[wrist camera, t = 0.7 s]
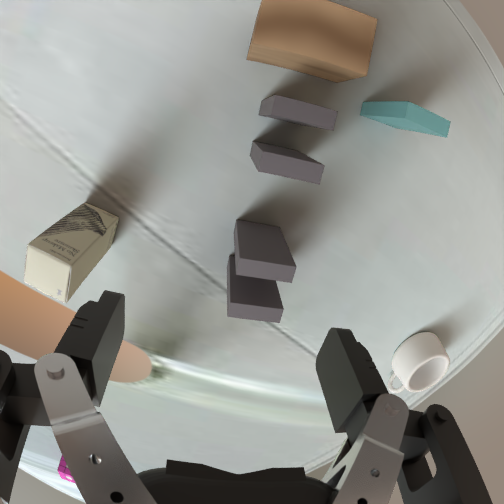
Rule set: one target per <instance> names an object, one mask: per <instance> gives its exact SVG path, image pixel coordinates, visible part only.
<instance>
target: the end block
mask: <svg viewBox="0 0 504 504" xmlns="http://www.w3.org/2000/svg"><path fill="white" fill-rule="evenodd" d="M376 25H377V19H375V18H373V17H371V16H368V15H366V14H363V13H361V12H358V11H355V10H353V9H350V8H347V7H345V6H342V5H339V4H336V3H333V2H330V1H327V0H262V2H261V5H260V8H259V11H258V15H257V19H256V23H255V27H254V31H253V35H252V39H251V43H250V47H249V51H248V56H247V60H251V61H256V62H261V63H265V64H270V65H274V66H278V67H283V68H287V69H291V70H295V71H298V72H302V73H306V74H309V75H313V76H316V77H320V78H323V79H326V80H330V81H333V82H336V83H338V82H342V81H346V80H351V79H355V78H359V77H364V76H367V71H368V67H369V62H370V57H371V52H372V46H373V41H374V36H375V30H376Z"/></svg>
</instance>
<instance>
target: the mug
mask: <svg viewBox="0 0 504 504" xmlns="http://www.w3.org/2000/svg"><path fill="white" fill-rule="evenodd" d="M391 365H392V369H393V371H394V373H393V374H392V375H391V377H390V378H389V381H388V388H389V390H390V391H391V392H392V393H399V392H401V391H403V390H404V389H405V388H406V389H407V390H408V391H410V392H420V391H423V390H426V389H428V388H430V387H432V386H433V385H434V384H436V383H437V382H438V381H439V380H440V379H441V378H442V377H443V376H444V375H445V373H446V372H447V370H448V368H449V365H450V359H449V356H448V354H447V353H446V351H445V349H444V347H443V345H442V344H441V342H440V340H439V338H438V337H437V336H436V335H435V334H434V333H430V332H421V333H418V334H415V335H413V336H411V337H409V338H408V339H407V340H405V341H404V342H403V343H402V344H401V345H400V346H399V347H398V348H397V350H396V351H395V353H394V355H393V358H392V363H391ZM396 376H397V377H398V378H399V379H400V380H401V382H402V386H401V387H400V388H398V389H395V388H393V386H392V382H393V380H394V378H395V377H396Z"/></svg>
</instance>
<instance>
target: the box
mask: <svg viewBox="0 0 504 504" xmlns="http://www.w3.org/2000/svg"><path fill="white" fill-rule="evenodd" d="M118 220H119V218H118V217H117V216H115V215H113V214H110V213H108V212H106V211H104V210H102V209H100V208H97V207H95V206H92V205H90V204H88V203H83V204H82V205H80V206H79V207H77V208H76V209H75V210H73V211H72V212H70V213H69V214H67V215H66V216H65V217H63V218H62V219H60V220H59V221H58V222H56V223H55V224H53V225H52V226H51V227H49V228H48V229H47V230H45V231H44V232H43V233H42V234H40V235H39V236H38V237H36V238H35V239H34V240H32V241H31V242H30V243H29V244H28V245H27V251H26V258H25V268H24V282H25V283H27V284H28V285H30V286H32V287H34V288H35V289H37V290H39V291H41V292H42V293H44V294H46V295H49V296H51V297H53V298H55V299H57V300H59V301H61V302H63V303H67V302H68V301H69V299H70V298H71V297H72V295H73V294H74V293H75V291H76V290H77V289H78V287H79V286H80V285H81V283H82V282H83V281H84V280H85V278H86V277H87V276H88V275H89V273H90V272H91V271H92V270H93V268H94V267H95V266H96V265H97V263H98V262H99V261H100V260H101V259H102V257H103V256H104V255H105V254H106V252H107V251H108V250H109V249H110V248H111V245H112V241H113V238H114V235H115V231H116V228H117V224H118Z"/></svg>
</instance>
